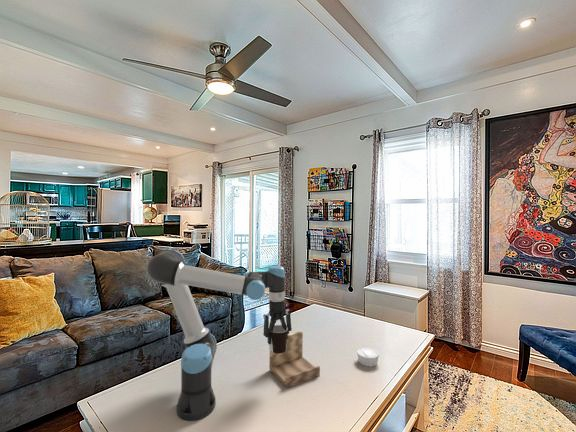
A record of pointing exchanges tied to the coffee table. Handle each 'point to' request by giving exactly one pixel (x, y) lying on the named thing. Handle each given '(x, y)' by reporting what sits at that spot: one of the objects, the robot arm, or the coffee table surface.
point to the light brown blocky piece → (292, 363)
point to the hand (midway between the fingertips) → (278, 348)
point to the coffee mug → (279, 339)
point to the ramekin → (368, 356)
